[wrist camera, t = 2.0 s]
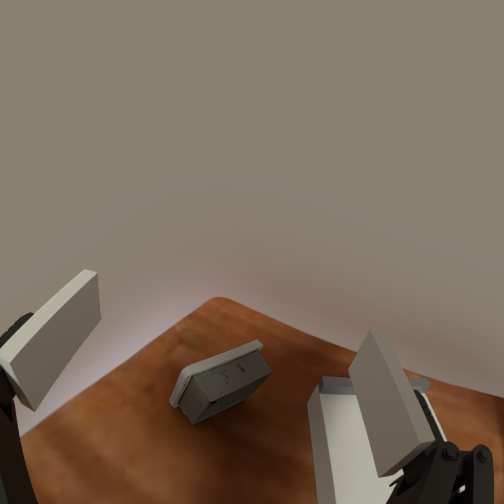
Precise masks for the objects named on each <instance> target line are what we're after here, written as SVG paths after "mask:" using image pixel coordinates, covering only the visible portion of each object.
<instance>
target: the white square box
mask: <svg viewBox="0 0 504 504" xmlns="http://www.w3.org/2000/svg"><path fill="white" fill-rule="evenodd" d="M408 380H409V383H410V385H411V387H412V389H413V390H418V391H419V392H420V393H421V395H422V396H423V397H424V398H425V400H426V402H427V404H428V406H429V407H428V408H430V411H431V413H432V415H433V417H434V419H435V421H436V424H437V426H438V428H439V430H440V432H441V435H442V437H443V439H444V441H447V440H446V437H445V435H444V433H443V431H442V428H441V426H440V424H439V422H438V420H437V417H436V415H435V413H434V411H433V409H432V407H431V405H430V403H429V401H428V399H427V397H426V395H425V392H426V391H427V389H428V388H429V387H430V384H429V382H428V380H427V378H417V379H408ZM307 410H308V418H309V426H310V434H311V443H312V452H313V461H314V470H315V480H316V491H317V502H318V504H386V502H387V501H388V499H389V497H390V495H391V493H392V491H393V490H394V489H393V488H394V487H395V486H396V484H397V483H396V484H394V485H393V486H391V487H389V485H390V484H391V483H392V482H393V481H394V480H396V479H397V478H399V477H400V476H401V475H403V474H404V473H403V470H402V469H401V470H400V471H398V472H397V473H396V474H394V475H392V476H387V477H381V478H378V476H377V471H376V467H375V463H374V459H373V455H372V451H371V447H370V444H369V440H368V436H367V432H366V429H365V425H364V422H363V418H362V414H361V411H360V408H359V404H358V401H357V397H356V394H355V391H354V387H353V384H352V381H351V378H347V377H331V376H322V377H321V379H320V381H319V383H318V385H317V386H316V388H315V390H314V392H313V394H312V396H311V397H310V399H309V401H308V403H307ZM463 490H465V485H464V486H462V487H461V488H460V492H462V491H463Z"/></svg>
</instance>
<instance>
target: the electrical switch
mask: <svg viewBox="0 0 504 504" xmlns="http://www.w3.org/2000/svg"><path fill="white" fill-rule="evenodd" d="M263 347H264V346H263V344H262V343H261V342H260V341H259V340H258V339H257V340H254V341H252V342H249V343H247V344H244V345H242V346H239V347H237V348H234V349H232V350H229V351H227V352H224V353H222V354H219V355H216V356H214V357H211V358H208V359H205V360H203V361H200V362H197V363H194V364H192V365H189V366H187V367H186V368H184V369H183V370H182V371H181V373H180V375H179V378H178V380H177V383H176V385H175V388H174V390H173V393H172V395H171V398H170V400H169V402H170V404H171V405H172V407H174V408H176V407H178V406H180V408H181V409H182V411H183V413H184V414H185V415H186V416H187V418H188V419H189V421H190V422H191V424H192V425H193V424H195V423H198V422H200V421H202V420H204V419H207V418H209V417H211V416H213V415H215V414H217V413H219V412H221V411H223V410H226V409H228V408H230V407H232V406H234V405H236V404H238V403H239V402H241V401H243V400H245V399H247V398H248V397H249V396H250V395H251V394H252V393H253V392H254V391H255V390H256V389H257V388H258V387H259V386H260V385H261V384H262V383H263V382H264V380H265V379H266V378H267V377H268V376H269V375H270V374H271V373H272V372H273V371H272V369H271V368H270V367H269V366H268V364H267V363H266V362H265V359H264V357H263V356H262V355H261V353H260V350H261V349H262V348H263ZM233 392H234V393H233ZM243 396H244V397H245V398H244V397H243ZM219 398H220V399H221V400H220V399H219ZM208 400H209V401H210V402H212V401H216V402H215V403H214V404H211V403H210V402H209V401H208ZM221 401H222V402H221ZM208 406H209V407H208Z"/></svg>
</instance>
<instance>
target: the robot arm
mask: <svg viewBox="0 0 504 504" xmlns="http://www.w3.org/2000/svg"><path fill="white" fill-rule="evenodd" d="M100 320H101V313H100V302H99V290H98V273H97V272H93V271H90V270H86V269H84V270H83V271H82V272H81V273H79V274H78V275H77V276H76V277H75V278H74V279H73V280H71V281H70V282H69V283H68V284H67V285H66V286H65V287H63V288H62V289H61V290H60V291H59V292H58V293H57V294H55V295H54V296H53V297H52V298H51V299H50V300H49V301H48V302H47V303H46V304H45V305H44V306H42V307H41V308H40V309H39V310H38V311H37V312H36V313H35V314H33V313H31V312H30V313H28V314H26V315H24V316H22V317H20V318H19V319H18V320H17V321H16V322H15V323H14V325H12V326H11V327H10V328H9V329H8V331H6V332H5V333H4V334H3V335H2V336H1V337H0V504H38V502H37V500H36V497H35V494H34V491H33V488H32V485H31V481H30V478H29V475H28V471H27V467H26V463H25V459H24V455H23V451H22V446H21V441H20V436H19V430H18V424H17V418H16V410H15V404H14V400H13V398H14V397H15V395H17V397H18V399H19V400H20V402H21V403H22V404H23V405H24V406H26V407H28V408H29V409H31V410H32V411H34V412H35V411H36V409H37V408H38V406H39V405H40V403H41V402H42V400H43V399H44V397H45V396H46V394H47V393H48V391H49V390H50V388H51V387H52V385H53V384H54V382H55V381H56V379H57V378H58V377H59V375H60V374H61V372H62V371H63V369H64V368H65V367H66V365H67V364H68V362H69V361H70V360H71V358H72V357H73V355H74V354H75V353H76V351H77V350H78V349H79V347H80V346H81V345H82V343H83V342H84V341H85V339H86V338H87V337H88V335H89V334H90V333H91V332H92V330H93V329H94V328H95V326H96V325H97V324H98V323H99V321H100ZM348 371H349V374H350V378H351V381H352V384H353V387H354V391H355V394H356V397H357V401H358V404H359V408H360V411H361V414H362V418H363V422H364V425H365V429H366V432H367V436H368V440H369V444H370V447H371V451H372V455H373V459H374V463H375V467H376V471H377V476H378V478H381V477H387V476H392V475H394V474H396V473H397V472H398V471H400V470H401V469H402V470H403V473H404V474H403V475H401V476H400V477H399V478H397V479H396V480H394V481H393V482H392V483H391V484H390V485H389V487H391V486H393V485H394V484H396V483H397V484H396V486H395V487H394V488H393V489H394V490H393V491H392V493H391V495H390V497H389V499H388V501H387V502H386V504H494V471H493V457H492V453H491V451H490V449H489V448H488V447H487V446H485V445H483V444H479V445H477V446H476V447H474V448H473V449H472V450H471V451H459V449H458V447H457V446H456V445H455V444H453V443H452V442H449V441H444V439H443V437H442V435H441V432H440V430H439V428H438V426H437V424H436V421H435V419H434V417H433V415H432V413H431V411H430V408H428V407H429V406H428V404H427V402H426V400H425V398H424V397H423V396H422V395H421V393H420V392H419V391H418V390H413V389H412V387H411V385H410V383H409V380H408V378H407V376H406V374H405V372H404V370H403V368H402V366H401V365H400V363H399V361H398V359H397V357H396V355H395V353H394V351H393V349H392V347H391V345H390V343H389V342H388V340H387V338H386V336H385V334H384V332H383V331H380V330H372V329H370V330H369V332H368V334H367V336H366V338H365V340H364V342H363V343H362V345H361V347H360V349H359V351H358V353H357V355H356V356H355V358H354V360H353V362H352V363H351V365H350V367H349V369H348ZM464 485H465V491H463V492H462V493H460V488H461V487H462V486H464Z"/></svg>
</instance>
